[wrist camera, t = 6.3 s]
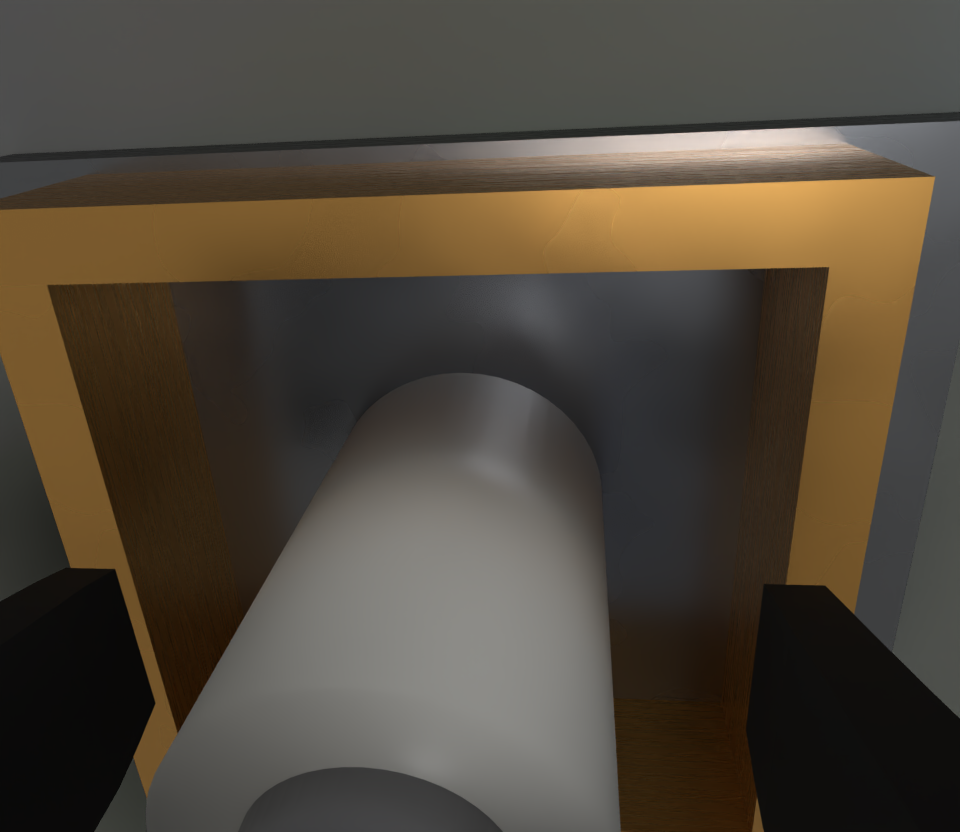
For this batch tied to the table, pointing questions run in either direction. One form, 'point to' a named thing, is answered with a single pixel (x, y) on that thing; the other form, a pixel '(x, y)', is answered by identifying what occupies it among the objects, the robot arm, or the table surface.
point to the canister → (420, 639)
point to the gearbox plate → (504, 375)
